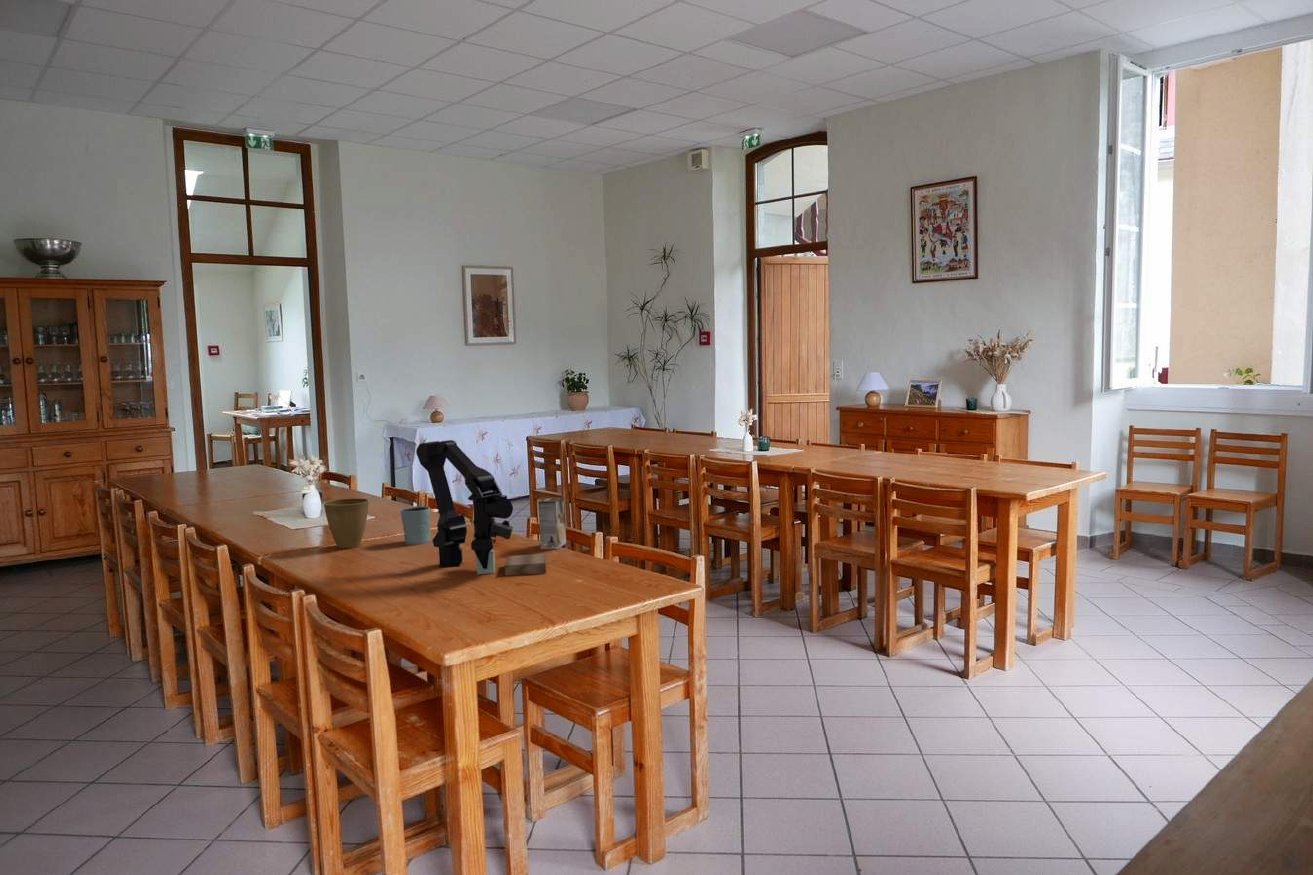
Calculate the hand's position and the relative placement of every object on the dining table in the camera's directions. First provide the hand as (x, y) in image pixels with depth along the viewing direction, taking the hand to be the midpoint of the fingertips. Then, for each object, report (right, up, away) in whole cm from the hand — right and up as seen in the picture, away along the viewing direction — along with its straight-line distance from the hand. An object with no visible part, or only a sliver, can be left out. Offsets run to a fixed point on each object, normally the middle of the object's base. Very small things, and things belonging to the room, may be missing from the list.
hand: (485, 566), depth 264 cm
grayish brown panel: (+12, -1, +1) cm, 12 cm away
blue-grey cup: (-33, +2, +46) cm, 56 cm away
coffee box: (+17, +2, +32) cm, 36 cm away
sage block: (0, -2, 0) cm, 2 cm away
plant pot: (-56, +1, +42) cm, 70 cm away
